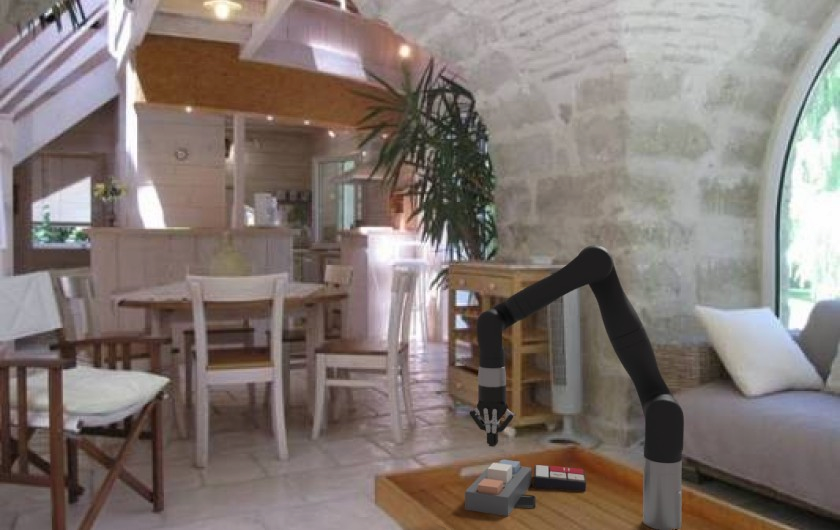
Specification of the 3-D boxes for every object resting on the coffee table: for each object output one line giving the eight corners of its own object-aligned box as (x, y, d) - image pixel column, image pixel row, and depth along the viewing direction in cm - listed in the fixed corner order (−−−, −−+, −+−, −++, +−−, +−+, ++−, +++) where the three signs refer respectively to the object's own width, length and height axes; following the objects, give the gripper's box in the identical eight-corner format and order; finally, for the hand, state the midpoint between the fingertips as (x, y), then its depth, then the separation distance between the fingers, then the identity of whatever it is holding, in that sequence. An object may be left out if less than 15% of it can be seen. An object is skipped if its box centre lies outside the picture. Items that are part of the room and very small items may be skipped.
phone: (482, 492, 203) (535, 495, 201) (482, 496, 203) (535, 499, 201) (480, 503, 195) (535, 505, 193) (480, 507, 195) (535, 510, 193)
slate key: (520, 474, 212) (520, 461, 212) (515, 480, 207) (515, 467, 207) (501, 472, 214) (501, 459, 214) (496, 478, 209) (496, 465, 209)
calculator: (586, 480, 206) (534, 474, 208) (585, 494, 206) (533, 488, 209) (584, 468, 217) (534, 462, 219) (583, 481, 217) (533, 476, 219)
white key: (512, 478, 204) (512, 465, 203) (506, 484, 198) (506, 471, 198) (493, 475, 206) (493, 462, 206) (487, 482, 201) (487, 468, 200)
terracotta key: (503, 494, 195) (503, 480, 195) (497, 502, 190) (497, 487, 190) (483, 492, 197) (483, 478, 197) (477, 499, 192) (477, 484, 192)
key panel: (531, 484, 212) (531, 467, 212) (508, 516, 188) (508, 497, 188) (492, 478, 217) (492, 462, 216) (465, 509, 193) (465, 491, 192)
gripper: (519, 381, 194) (519, 444, 194) (473, 378, 199) (473, 439, 199) (512, 387, 187) (512, 452, 187) (464, 383, 192) (465, 447, 192)
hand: (492, 445), depth 193 cm, fingers closed
